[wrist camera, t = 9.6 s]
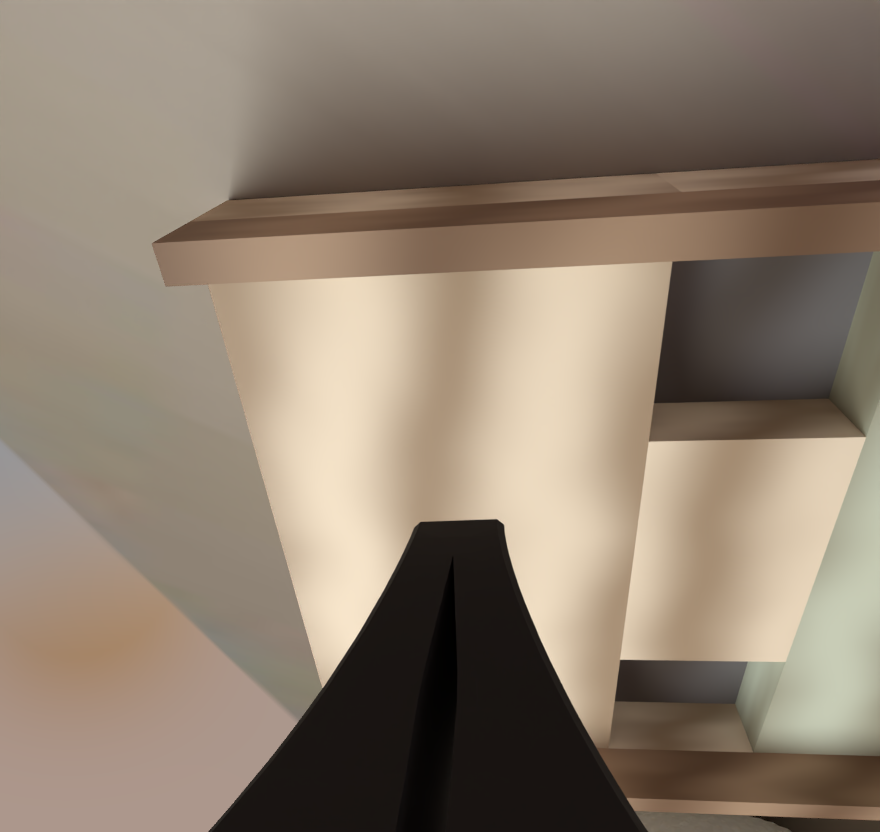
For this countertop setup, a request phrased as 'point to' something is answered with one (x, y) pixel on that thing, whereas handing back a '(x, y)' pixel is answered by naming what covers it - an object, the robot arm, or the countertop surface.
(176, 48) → the countertop surface
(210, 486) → the countertop surface
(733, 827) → the cereal bowl
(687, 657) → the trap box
